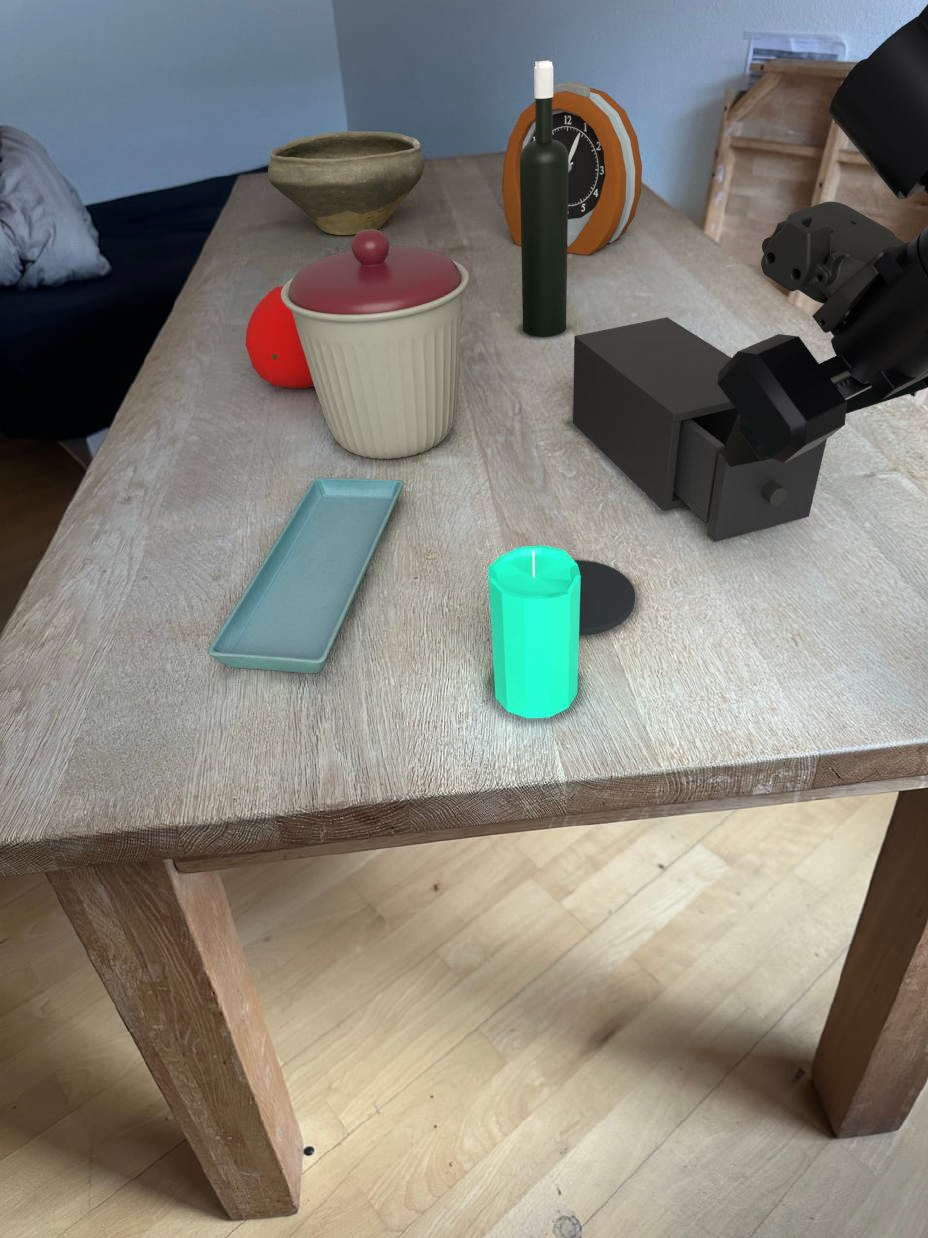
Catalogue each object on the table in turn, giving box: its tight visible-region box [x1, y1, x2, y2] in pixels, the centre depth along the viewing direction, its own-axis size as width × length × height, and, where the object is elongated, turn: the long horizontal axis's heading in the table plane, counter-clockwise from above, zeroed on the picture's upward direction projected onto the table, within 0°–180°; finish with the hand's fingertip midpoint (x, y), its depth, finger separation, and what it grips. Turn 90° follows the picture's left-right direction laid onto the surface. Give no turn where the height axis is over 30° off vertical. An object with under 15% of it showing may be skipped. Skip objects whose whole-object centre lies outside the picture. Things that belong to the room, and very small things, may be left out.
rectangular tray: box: [207, 477, 405, 674], centre depth 72 cm, size 26×9×2 cm, turn 170°
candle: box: [487, 544, 581, 719], centre depth 57 cm, size 6×6×12 cm
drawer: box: [673, 408, 828, 543], centre depth 76 cm, size 20×9×8 cm, turn 19°
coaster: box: [573, 559, 636, 636], centre depth 68 cm, size 9×9×1 cm
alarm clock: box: [501, 81, 643, 256], centre depth 135 cm, size 22×10×23 cm, turn 53°
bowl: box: [267, 130, 425, 236], centre depth 153 cm, size 28×28×14 cm
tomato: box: [245, 285, 315, 389], centre depth 101 cm, size 13×13×13 cm
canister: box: [281, 229, 470, 460], centre depth 85 cm, size 18×18×21 cm
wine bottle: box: [520, 59, 569, 338], centre depth 103 cm, size 6×6×30 cm
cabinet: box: [572, 316, 734, 512], centre depth 82 cm, size 20×11×10 cm, turn 19°
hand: (774, 436), depth 56 cm, fingers open, 9 cm apart
